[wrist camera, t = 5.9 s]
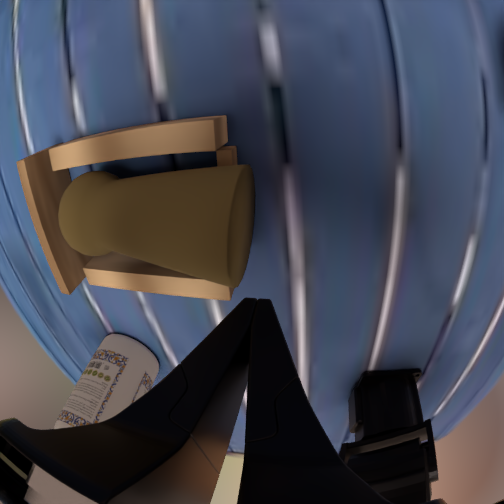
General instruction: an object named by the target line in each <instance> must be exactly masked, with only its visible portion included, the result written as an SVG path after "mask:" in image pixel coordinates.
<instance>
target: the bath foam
mask: <svg viewBox="0 0 504 504" xmlns="http://www.w3.org/2000/svg"><path fill="white" fill-rule="evenodd" d="M158 371H159V364H158V361H157V359H156V357H155V356H154V355H153V353H152V352H151V351H150V350H149V349H148V348H146V347H145V346H144V345H143V344H141V343H140V342H138V341H136V340H134V339H132V338H130V337H128V336H125V335H121V334H111V335H108V336H106V337H105V338H104V340H103V341H102V343H101V344H100V346H99V347H98V349H97V351H96V352H95V354H94V355H93V357H92V359H91V360H90V362H89V364H88V365H87V367H86V369H85V370H84V372H83V374H82V375H81V377H80V379H79V381H78V382H77V384H76V386H75V388H74V389H73V391H72V393H71V395H70V397H69V399H68V400H67V402H66V404H65V406H64V408H63V409H62V412H61V413H60V415H59V417H58V419H57V422H56V424H55V427H54V429H59V428H67V427H74V426H81V425H87V424H93V423H99V422H102V421H105V420H107V419H110V418H112V417H113V416H115V415H117V414H118V413H120V412H121V411H122V410H124V409H125V408H127V407H128V406H129V405H131V404H132V403H133V402H135V401H136V400H137V399H139V398H140V397H141V396H143V395H144V394H145V393H147V392H148V391H149V390H151V388H152V385H153V383H154V380H155V378H156V376H157V373H158Z"/></svg>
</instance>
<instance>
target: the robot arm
mask: <svg viewBox="0 0 504 504" xmlns="http://www.w3.org/2000/svg"><path fill="white" fill-rule="evenodd" d="M421 375H422V372H421V370H420V369H416V370H404V371H387V372H366V373H364V374H362V376H361V378H360V380H359V382H358V385H357V387H355V388H354V389H353V391H352V393H351V396H350V398H349V400H348V402H349V431H350V432H351V433H355V442H351V443H343V444H342V446H341V451H340V453H339V455H338V453H337V452H336V450H335V449H334V447H333V445H332V443H331V442H330V440H329V438H328V436H327V435H326V433H325V431H324V429H323V428H322V426H321V424H320V422H319V420H318V419H317V417H316V415H315V413H314V411H313V409H312V407H311V405H310V403H309V401H308V399H307V396H306V394H305V391H304V389H303V386H302V384H301V381H300V378H299V376H298V373H297V370H296V367H295V365H294V362H293V359H292V356H291V354H290V351H289V348H288V345H287V343H286V340H285V337H284V334H283V332H282V329H281V326H280V323H279V321H278V318H277V315H276V312H275V310H274V307H273V304H272V301H271V300H270V299H261V298H260V299H258V300H257V299H256V298H244V299H243V300H242V301H241V302H240V303H239V304H238V305H237V306H236V307H235V308H234V309H233V310H232V311H231V312H230V313H229V314H228V315H227V316H226V317H225V318H224V319H223V320H222V321H221V322H220V324H219V325H218V326H217V327H216V328H215V329H214V330H213V331H212V332H211V333H210V334H209V335H208V336H207V337H206V338H205V339H204V340H203V341H202V342H201V343H200V344H199V345H198V346H197V347H196V348H195V349H194V350H193V351H192V352H191V353H190V354H189V355H188V356H187V357H186V358H185V359H184V360H183V361H182V362H181V364H178V365H177V366H176V367H175V368H174V369H173V370H172V371H171V372H170V373H169V374H168V375H167V376H166V377H165V378H164V379H163V380H161V381H160V382H159V383H158V384H157V385H155V386H154V387H153V388H152V389H151V390H149V391H148V392H147V393H145V394H144V395H143V396H141V397H140V398H139V399H137V400H136V401H135V402H133V403H132V404H131V405H129V406H128V407H127V408H125V409H124V410H122V411H121V412H120V413H118V414H117V415H115V416H113V417H112V418H110V419H107V420H105V421H102V422H99V423H93V424H87V425H81V426H74V427H67V428H59V429H50V430H38V429H32V428H29V427H27V426H26V425H24V424H23V423H21V422H20V421H19V420H18V419H16V418H10V419H5V420H1V421H0V504H210V502H211V499H212V496H213V493H214V490H215V487H216V484H217V480H218V478H219V474H220V471H221V468H222V465H223V462H224V459H225V456H226V452H227V449H228V446H229V443H230V439H231V436H232V433H233V430H234V426H235V423H236V420H237V416H238V413H239V409H240V406H241V403H242V399H243V396H244V392H245V389H246V385H247V382H248V389H247V410H246V430H245V450H244V463H243V470H242V476H241V483H240V489H239V495H238V501H237V504H447V503H446V502H445V501H444V500H443V499H435V500H431V495H432V492H431V482H434V481H437V480H438V469H437V459H436V452H435V444H434V437H433V431H432V425H431V420H430V419H428V420H425V422H424V421H423V415H422V409H421V404H420V399H419V394H418V389H417V385H416V382H417V381H418V379H419V378H420V377H421ZM427 439H428V442H425V443H422V444H421V441H424V440H427ZM430 500H431V501H430ZM494 504H504V499H502V500H500V501H498V502H496V503H494Z"/></svg>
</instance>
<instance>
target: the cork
mask: <svg viewBox="0 0 504 504" xmlns="http://www.w3.org/2000/svg"><path fill="white" fill-rule="evenodd" d="M254 214H255V183H254V176H253V171H252V168H251V167H250V165H249V164H245V165H231V166H219V167H208V168H198V169H189V170H180V171H172V172H164V173H157V174H150V175H143V176H137V177H131V178H125V179H119V178H118V176H116V175H113V174H111V173H108V172H105V171H92V172H87V173H84V174H82V175H80V176H79V177H77V178H76V179H74V180H73V181H72V182H71V184H70V185H69V186H68V187H67V189H66V190H65V191H64V194H63V196H62V198H61V201H60V205H59V212H58V217H59V226H60V229H61V232H62V235H63V237H64V239H65V240H66V241H67V243H68V244H69V245H70V247H71V248H73V249H75V250H76V251H78V252H80V253H82V254H84V255H88V256H101V255H106V254H108V253H110V252H112V251H115V252H118V253H121V254H124V255H127V256H130V257H133V258H136V259H139V260H142V261H145V262H149V263H152V264H155V265H158V266H161V267H164V268H167V269H171V270H174V271H177V272H180V273H184V274H187V275H190V276H193V277H197V278H200V279H204V280H207V281H210V282H214V283H217V284H221V285H224V286H227V287H231V288H236V287H238V286H239V284H240V282H241V280H242V278H243V275H244V272H245V270H246V266H247V262H248V258H249V253H250V248H251V242H252V235H253V226H254Z"/></svg>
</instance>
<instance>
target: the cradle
mask: <svg viewBox="0 0 504 504" xmlns="http://www.w3.org/2000/svg"><path fill="white" fill-rule="evenodd" d="M227 142H228V135H227V119H226V115H223V116H209V117H198V118H188V119H179V120H171V121H164V122H157V123H150V124H144V125H138V126H132V127H127V128H122V129H117V130H112V131H107V132H103V133H98V134H94V135H90V136H86V137H82V138H78V139H74V140H71V141H68V142H66V143H60V144H56V145H54V146H51V147H49V148H46V149H44V150H42V151H39V152H37V153H35V154H33V155H30V156H28V157H26V158H24V159H22V160H20V161H18V162H17V167H18V171H19V176H20V180H21V184H22V187H23V191H24V195H25V198H26V202H27V205H28V208H29V212H30V215H31V218H32V221H33V224H34V227H35V230H36V233H37V235H38V238H39V241H40V243H41V246H42V249H43V251H44V254H45V256H46V259H47V261H48V263H49V266H50V268H51V270H52V273H53V275H54V277H55V279H56V282H57V284H58V286H59V288H60V290H61V292H62V293H64V294H69V295H70V294H71V293H72V292H73V291H74V290H75V288H76V287H77V286H78V285H79V284H80V283H81V282H82V280H83V279H84V278H85V277H87V280H88V282H89V284H91V285H97V286H104V287H111V288H118V289H126V290H133V291H141V292H149V293H158V294H167V295H176V296H185V297H195V298H206V299H217V300H229V301H230V300H231V297H232V294H233V291H234V288H231V287H227V286H224V285H221V284H217V283H214V282H210V281H207V280H204V279H200V278H197V277H193V276H190V275H187V274H184V273H180V272H177V271H174V270H171V269H167V268H164V267H161V266H158V265H155V264H152V263H149V262H145V261H142V260H139V259H136V258H133V257H130V256H127V255H124V254H121V253H118V252H115V251H112V252H110V253H108V254H106V255H101V256H94V257H93V256H88V255H84V254H82V253H80V252H78V251H76V250H75V249H73V248H71V247H70V245H69V244H68V243H67V241H66V240H65V239H64V237H63V235H62V232H61V229H60V226H59V217H58V212H59V205H60V201H61V198H62V196H63V194H64V191H65V190H66V189H67V187H68V186H69V185H70V184H71V179H70V174H69V170H68V168H71V167H76V166H82V165H87V164H93V163H99V162H106V161H113V160H120V159H127V158H135V157H144V156H153V155H163V154H174V153H187V152H203V151H216V154H217V167H219V166H231V165H237V149H236V146H223V145H224V144H225V143H227ZM221 146H222V147H221ZM217 149H218V150H217Z"/></svg>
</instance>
